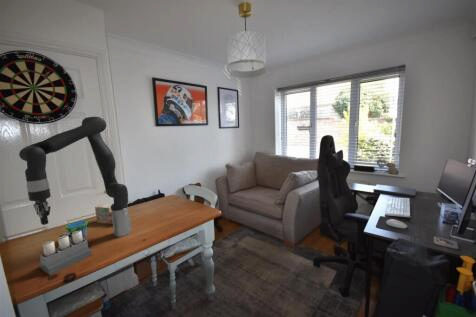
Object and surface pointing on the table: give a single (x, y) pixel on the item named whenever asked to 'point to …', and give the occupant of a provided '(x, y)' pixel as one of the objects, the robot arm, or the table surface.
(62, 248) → the knob mid
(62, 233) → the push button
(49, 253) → the knob
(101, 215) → the cereal box
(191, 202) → the table surface
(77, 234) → the knob
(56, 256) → the grey compartment box
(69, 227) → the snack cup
